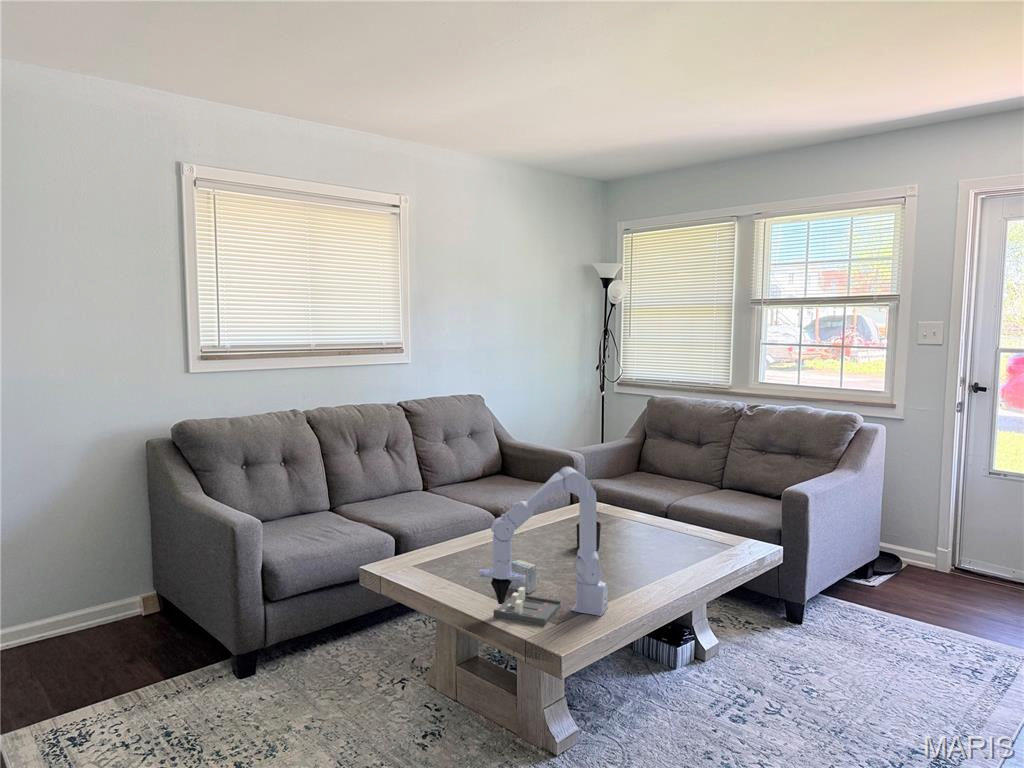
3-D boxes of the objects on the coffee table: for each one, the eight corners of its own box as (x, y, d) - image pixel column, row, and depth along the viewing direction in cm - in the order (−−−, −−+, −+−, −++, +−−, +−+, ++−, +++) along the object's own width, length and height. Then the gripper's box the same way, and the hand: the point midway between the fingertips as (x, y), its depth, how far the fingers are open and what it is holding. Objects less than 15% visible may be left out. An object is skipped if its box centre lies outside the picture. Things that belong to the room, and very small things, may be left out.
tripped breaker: (522, 612, 206) (522, 600, 205) (519, 615, 203) (519, 603, 203) (517, 611, 206) (517, 599, 206) (514, 614, 204) (514, 602, 204)
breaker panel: (560, 607, 213) (560, 600, 213) (544, 626, 199) (544, 619, 199) (512, 598, 219) (512, 592, 219) (493, 617, 205) (493, 610, 205)
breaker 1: (519, 604, 211) (519, 593, 211) (516, 607, 209) (516, 595, 209) (514, 603, 212) (514, 592, 212) (511, 606, 210) (511, 595, 209)
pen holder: (604, 550, 268) (605, 525, 267) (583, 553, 264) (583, 527, 264) (593, 543, 277) (593, 519, 276) (572, 546, 273) (572, 521, 272)
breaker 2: (525, 598, 216) (525, 587, 216) (522, 601, 214) (522, 590, 213) (520, 597, 216) (520, 586, 216) (517, 600, 214) (517, 589, 214)
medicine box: (536, 590, 226) (536, 564, 226) (527, 594, 223) (527, 568, 222) (518, 584, 232) (518, 559, 231) (509, 588, 228) (509, 562, 228)
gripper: (529, 557, 207) (528, 601, 208) (484, 551, 212) (483, 594, 213) (521, 564, 200) (521, 610, 201) (475, 558, 205) (475, 603, 206)
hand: (501, 603), depth 207 cm, fingers closed
